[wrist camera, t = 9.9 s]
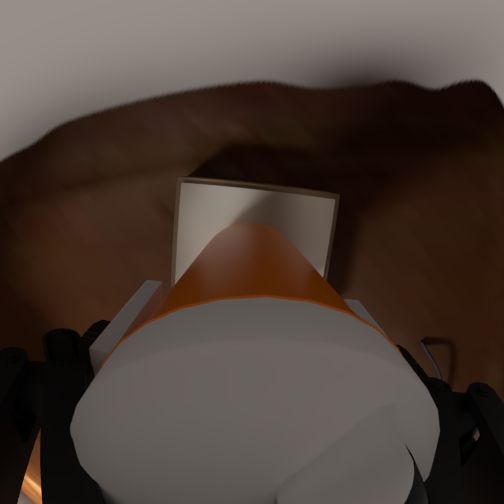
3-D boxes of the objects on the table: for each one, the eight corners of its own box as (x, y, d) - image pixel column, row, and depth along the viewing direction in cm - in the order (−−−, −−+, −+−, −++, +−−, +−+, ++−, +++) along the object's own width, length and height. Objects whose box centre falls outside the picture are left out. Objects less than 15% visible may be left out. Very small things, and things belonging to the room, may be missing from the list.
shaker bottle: (161, 264, 22) (-24, 508, 3) (258, 180, 21) (393, 273, 2) (242, 349, 24) (239, 620, 5) (336, 278, 23) (509, 521, 3)
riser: (179, 307, 29) (169, 328, 25) (187, 176, 26) (176, 176, 22) (306, 319, 30) (315, 341, 25) (327, 191, 27) (341, 195, 23)
